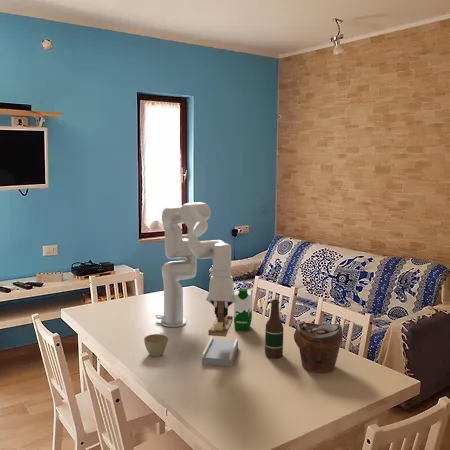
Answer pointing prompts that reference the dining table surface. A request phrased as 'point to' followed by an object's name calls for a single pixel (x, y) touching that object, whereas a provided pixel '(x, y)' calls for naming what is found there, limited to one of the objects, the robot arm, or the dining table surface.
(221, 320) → the brown base with upright
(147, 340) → the flower pot
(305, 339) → the brown lidded bucket
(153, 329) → the dining table surface
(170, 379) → the dining table surface
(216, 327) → the crate
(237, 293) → the milk carton
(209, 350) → the tray
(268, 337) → the beer bottle
